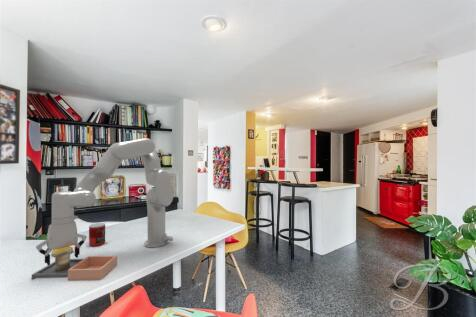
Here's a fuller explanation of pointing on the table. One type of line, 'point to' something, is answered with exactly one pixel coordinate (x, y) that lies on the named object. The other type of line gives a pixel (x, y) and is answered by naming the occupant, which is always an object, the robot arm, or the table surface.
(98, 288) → the table surface
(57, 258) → the beech cylinder
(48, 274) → the charcoal tray
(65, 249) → the bread roll
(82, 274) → the salmon square tray
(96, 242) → the canned food
